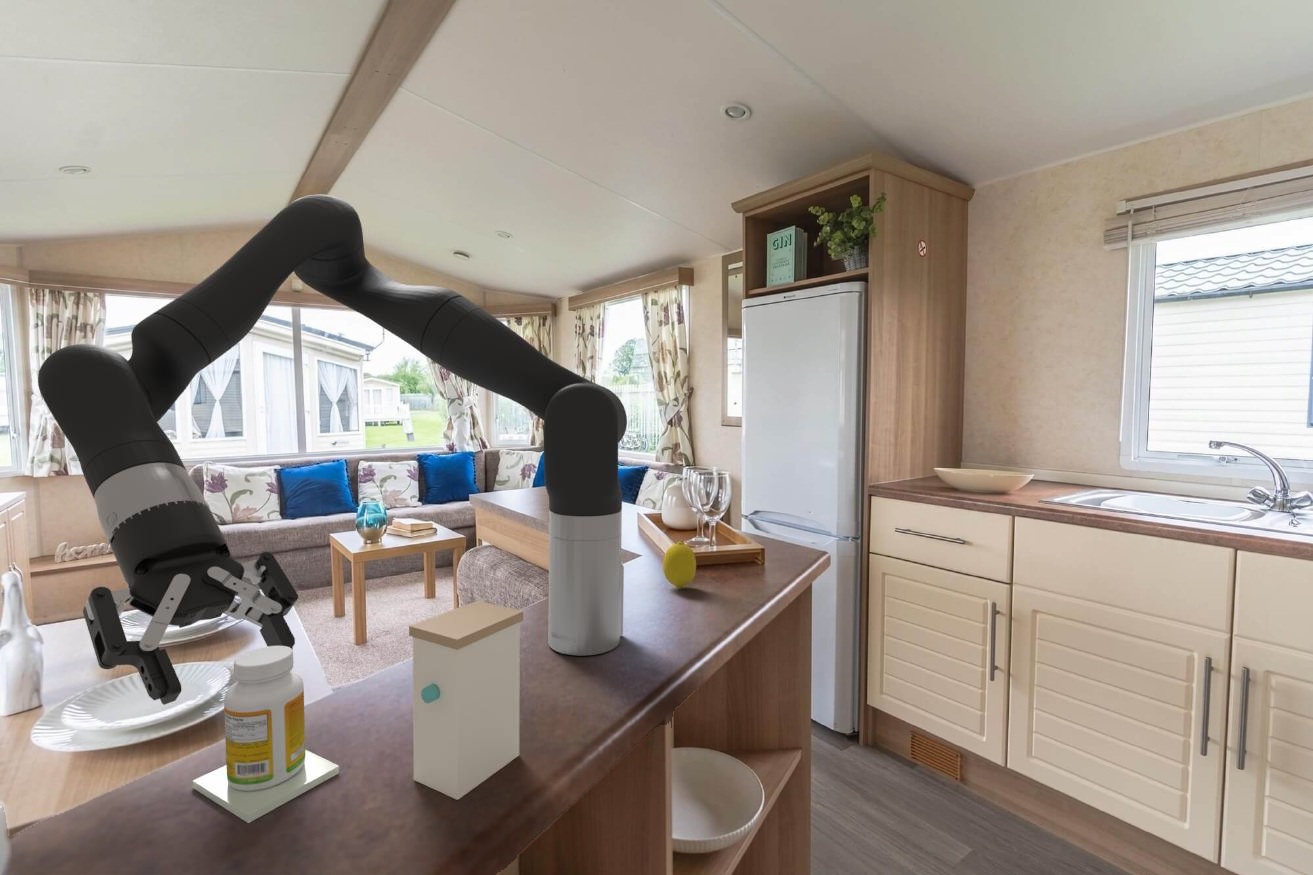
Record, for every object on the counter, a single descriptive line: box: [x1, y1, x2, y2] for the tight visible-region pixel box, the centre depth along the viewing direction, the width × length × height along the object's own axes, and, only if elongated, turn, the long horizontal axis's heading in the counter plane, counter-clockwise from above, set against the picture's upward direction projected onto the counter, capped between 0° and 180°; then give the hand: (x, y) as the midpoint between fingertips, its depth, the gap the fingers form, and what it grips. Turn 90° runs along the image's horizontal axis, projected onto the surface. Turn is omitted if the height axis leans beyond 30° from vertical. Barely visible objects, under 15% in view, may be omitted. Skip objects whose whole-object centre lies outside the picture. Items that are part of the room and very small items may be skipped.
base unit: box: [408, 600, 524, 801], centre depth 51 cm, size 8×5×13 cm
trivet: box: [192, 749, 340, 824], centre depth 49 cm, size 7×8×1 cm
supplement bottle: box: [223, 646, 306, 791], centre depth 49 cm, size 5×5×10 cm
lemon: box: [662, 541, 697, 590], centre depth 102 cm, size 6×6×8 cm
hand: (233, 676), depth 51 cm, fingers open, 8 cm apart
